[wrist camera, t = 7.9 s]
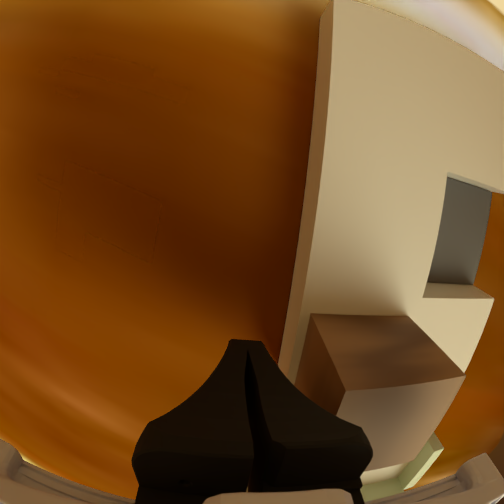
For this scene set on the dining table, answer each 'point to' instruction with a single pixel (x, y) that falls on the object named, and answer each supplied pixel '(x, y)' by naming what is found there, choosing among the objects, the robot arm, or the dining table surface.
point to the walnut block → (379, 380)
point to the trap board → (397, 191)
